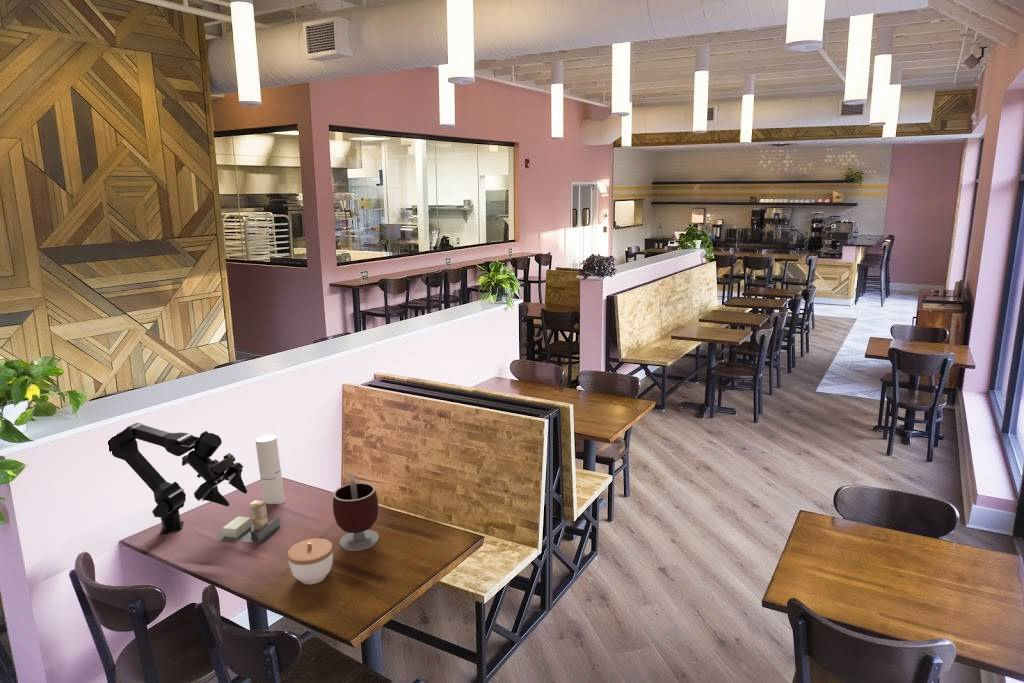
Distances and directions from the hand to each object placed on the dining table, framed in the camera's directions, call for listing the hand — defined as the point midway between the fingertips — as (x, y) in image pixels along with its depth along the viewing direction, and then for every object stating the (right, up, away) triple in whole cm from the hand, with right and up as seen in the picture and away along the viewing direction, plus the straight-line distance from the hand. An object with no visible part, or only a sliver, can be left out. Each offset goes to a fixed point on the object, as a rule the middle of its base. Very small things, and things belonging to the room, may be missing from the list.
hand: (237, 499), depth 221 cm
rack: (+3, -13, +2) cm, 13 cm away
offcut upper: (-1, -10, +3) cm, 10 cm away
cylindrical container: (+3, -8, +26) cm, 27 cm away
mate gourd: (+40, -13, -3) cm, 42 cm away
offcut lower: (-1, -11, +3) cm, 12 cm away
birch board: (+8, -11, +1) cm, 14 cm away
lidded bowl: (+31, -18, -23) cm, 43 cm away
